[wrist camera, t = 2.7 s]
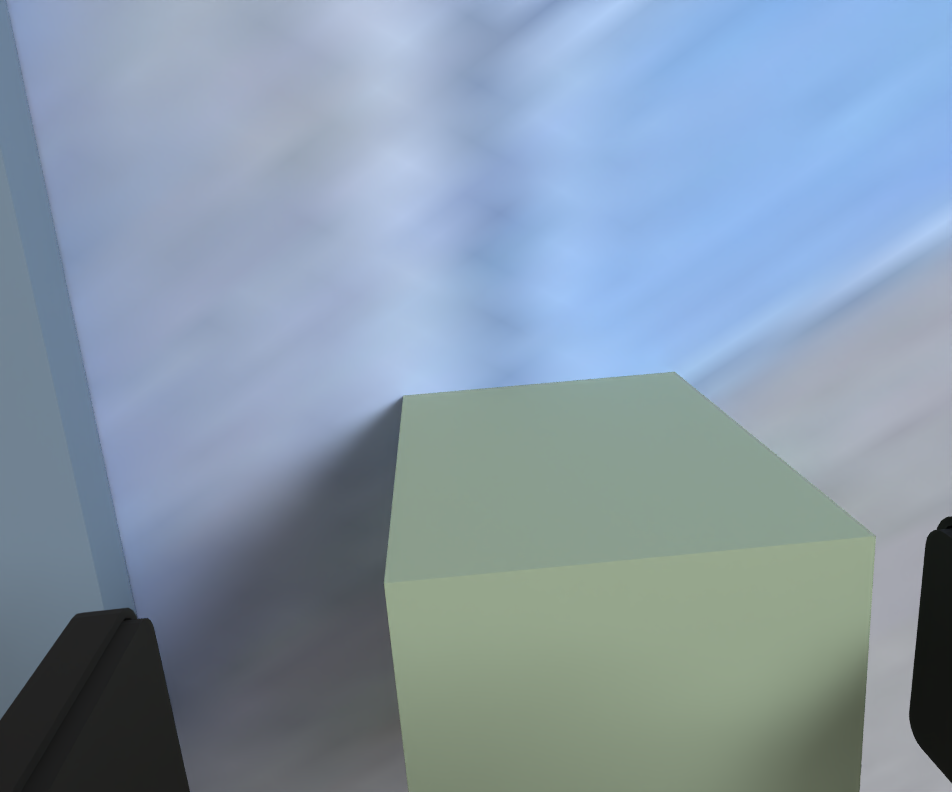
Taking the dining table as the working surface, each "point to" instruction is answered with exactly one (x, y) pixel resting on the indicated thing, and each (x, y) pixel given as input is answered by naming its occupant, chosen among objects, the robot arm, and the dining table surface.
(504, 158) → the dining table surface
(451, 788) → the sage brick
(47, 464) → the board
